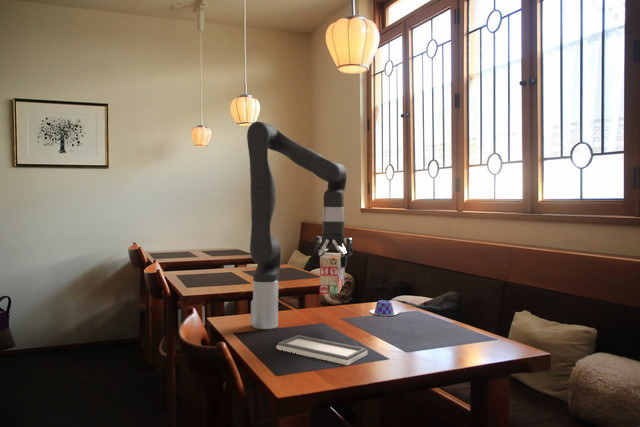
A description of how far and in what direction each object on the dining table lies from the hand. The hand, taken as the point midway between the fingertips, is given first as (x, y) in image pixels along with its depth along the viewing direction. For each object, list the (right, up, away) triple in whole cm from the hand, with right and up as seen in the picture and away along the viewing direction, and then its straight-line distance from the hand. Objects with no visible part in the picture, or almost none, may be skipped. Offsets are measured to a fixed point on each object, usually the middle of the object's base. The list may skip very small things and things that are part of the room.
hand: (332, 266), depth 172 cm
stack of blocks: (0, -8, +1) cm, 8 cm away
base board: (-4, -24, -19) cm, 31 cm away
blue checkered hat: (+22, -24, +35) cm, 48 cm away
